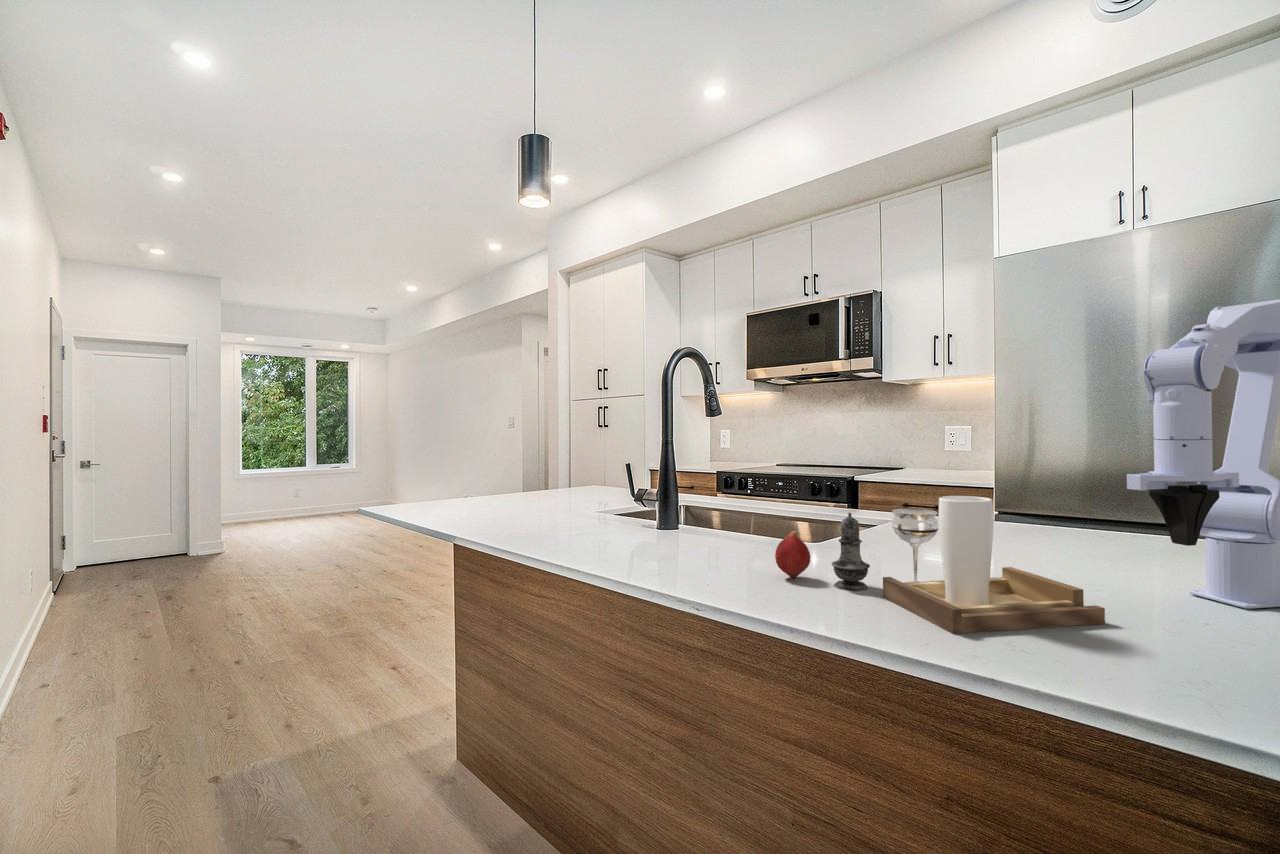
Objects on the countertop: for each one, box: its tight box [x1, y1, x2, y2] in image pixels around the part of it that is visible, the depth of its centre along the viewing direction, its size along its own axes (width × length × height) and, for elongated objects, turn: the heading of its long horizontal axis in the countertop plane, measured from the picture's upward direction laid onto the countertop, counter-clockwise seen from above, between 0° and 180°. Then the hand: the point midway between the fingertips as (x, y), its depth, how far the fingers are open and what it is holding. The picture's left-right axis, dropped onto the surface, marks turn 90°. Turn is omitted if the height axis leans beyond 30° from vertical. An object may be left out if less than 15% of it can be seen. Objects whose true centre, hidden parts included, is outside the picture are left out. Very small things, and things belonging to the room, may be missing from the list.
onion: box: [774, 530, 811, 579], centre depth 106 cm, size 6×6×8 cm
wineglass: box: [891, 508, 939, 583], centre depth 99 cm, size 7×7×12 cm
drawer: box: [904, 566, 1085, 614], centre depth 86 cm, size 18×13×4 cm
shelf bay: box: [882, 576, 1106, 634], centre depth 86 cm, size 21×17×3 cm
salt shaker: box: [831, 511, 871, 592], centre depth 100 cm, size 6×6×12 cm
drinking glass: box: [937, 495, 995, 607], centre depth 86 cm, size 7×7×15 cm
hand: (1183, 544), depth 80 cm, fingers closed
